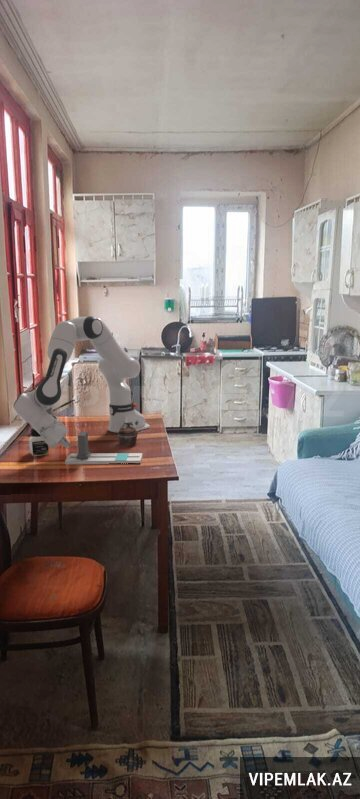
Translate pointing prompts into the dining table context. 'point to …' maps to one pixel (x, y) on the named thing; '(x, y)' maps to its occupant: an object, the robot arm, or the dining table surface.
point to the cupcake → (127, 434)
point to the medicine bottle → (37, 444)
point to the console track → (106, 458)
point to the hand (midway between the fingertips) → (69, 446)
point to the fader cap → (83, 446)
